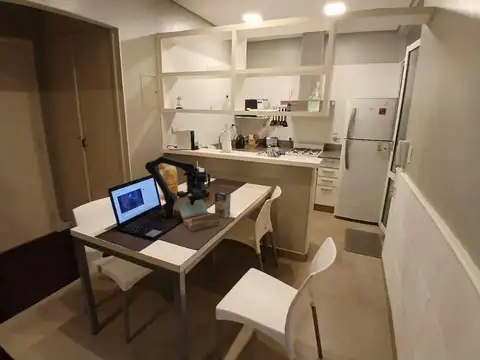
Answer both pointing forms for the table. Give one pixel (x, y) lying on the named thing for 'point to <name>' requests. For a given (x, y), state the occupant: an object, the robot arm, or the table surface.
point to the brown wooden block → (201, 221)
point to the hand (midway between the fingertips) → (192, 205)
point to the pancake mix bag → (169, 177)
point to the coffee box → (222, 203)
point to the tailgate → (192, 209)
